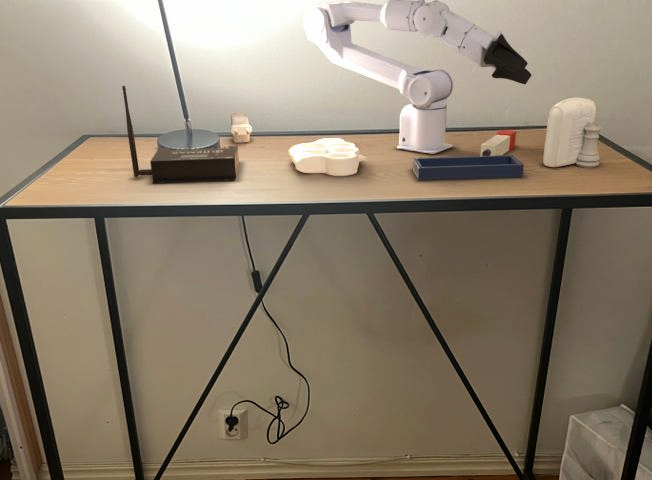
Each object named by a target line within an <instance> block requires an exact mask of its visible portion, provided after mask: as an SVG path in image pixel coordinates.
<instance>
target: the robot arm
mask: <svg viewBox="0 0 652 480" xmlns="http://www.w3.org/2000/svg"><path fill="white" fill-rule="evenodd" d="M355 22H373V23H374V22H375V23H382V24H383V25H384V27H385V28H386V29H387V30H388V31H389V30H390V31H400V32H410V33H417V32H418V35H420V36H425V37H426V36H432V37H433V38H434V39H436V40H438V41H440V42H441V43H442V44H444V45H445V46H447V47H448V48H450V49H452V50H454V51H456V53H458V54H461V55H462V56H463V57H465V58H467V59H469V60H470V61H472V62H474V63H476V64H477V66H478V67H480V68H489V67H490V68H492V69H493V70H494V71H493V72H492V74H491V77H492V78H493V79H503V80H510V81H512V82H516V83H518V84H521V85H527V83H528V81H529V80H530V79H531V77H532V73H531V72H530V71H529V70H528V69H527V68H526V67H527V66H528V64H529V63H528V61H527V60H526V59H525V58H524V57H523V56H522V55H521V54H519V53H518V51H516V50H515V49H514V48H513V47H512V45H510V43H509V42H508V41H507V39H506V37H505V36H504V34H503V33H502V31H500V30H497V32H496V33H495V34H492V33H490V32H488V31H487V30H485V29H483V28H481V27H480V26H478V25H476V24H475V23H473V22H472V21H470V20H468V19H466V18H465V17H463V16H461V15H460V14H456V13H455V12H454V11H451V9H450V8H449V6H448V5H447V4H446V3H445V2H443V1H440V0H432V1H429V2H426V0H388V1H387V2H386V3H385V4H376V3H369V2H368V3H367V2H361V1H352V0H351V1H340V2H333V3H327V4H320V5H319V4H314V5H311V6H309V7H308V8H307V9H306V10H305V11H304V15H303V27H304V30H305V33H306V36H307V39H308V40H309V41H310V42H312V43H314V44H316V45H317V46H318V47H319V49H320V50H321V51H322V52H323V54H324V55H325V56H326V57H327V58H328V60H330V62H331V63H333V64H335V65H337V66H340V67H342V68H345V69H347V70H349V71H353V72H355V73H358V74H359V75H363V76H365V77H368V78H370V79H372V80H374V81H377V82H380V83H382V84H385V85H387V86H390V87H392V88H395V89H397V90H399V92H400V93H399V94H400V95H401V96H402V97H405V98H407V99H408V100H409V101H410V102H411V103H408V104H406V105H405V106H404V107H403V108H402V110H401V112H400V115H399V135H398V136H399V137H398V138H399V139H398V145H397V146H396V148H397V149H399V150H404V151H411V152H418V153H425V154H430V155H434V154H439V153H440V152H442V151H446V150H448V149H451V148H453V144H448V143H446V129H447V111H448V98H449V97H450V96H451V95H452V92H453V90H454V80H453V77H452V75H451V74H450V72H448V71H447V70H445V69H440V68H439V69H429V68H427V67H426V68H425V67H418V66H412V65H409V64H406V63H404V62H403V61H402V62H401V61H399V60H396V59H394V58H391V57H390V56H386V55H383V54H381V53H378V52H375V51H372V50H371V49H368V48H366V47H363V46H360V45H357V44H354V43H353V41H352V31H351V30H352V29H351V25H352V24H354V23H355Z"/></svg>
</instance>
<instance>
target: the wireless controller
mask: <svg viewBox="0 0 652 480" xmlns="http://www.w3.org/2000/svg"><path fill="white" fill-rule="evenodd" d="M121 87H122V88H121V89H122V94H123V95H122V96H123V102H124V108H125V120H126V130H127V138H128V144H129V151H130V158H131V164H132V170H133V171H132V172H133V177H134V178H138V177H139V176H151V177H152V184H153V185H161V184H163V185H164V184H191V183H218V182H219V183H220V182H236V179H237V177H238V172H239V167H240V157H239V155H240V154H239V145H229V146H228V147H225V146H224V147H218V148H217V147H216V146H215V147H214V148H212V147H211V146H210V147H208V148H206V147H204V148H201V147H199V148H197V147H195V148H191V147H189V148H188V149H187V148H186V147H185V148H184V149H182V148H179V149H177V148H175V149H172V147H163V148H157V150H156V152H155V153H154V154H153V156H152V158H151V159H150V160H149V161H150V163H149V164H150V169H149V168H148V169H147V168H145V169H140V168H139V166H140V165H139V159H138V154H137V153H138V152H137V147H136V146H137V145H136V140H135V132H134V127H133V123H132V118H131V114H130V113H131V112H130V108H129V103H128V102H129V101H128V96H127V89H126V86H125V85H122V86H121Z"/></svg>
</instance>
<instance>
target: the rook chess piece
mask: <svg viewBox="0 0 652 480" xmlns="http://www.w3.org/2000/svg"><path fill="white" fill-rule="evenodd" d="M590 123H591V122H588V123H587V125H586V126H585V127H584V129H585V131H586V134H585V135H584V137H585V140H584V144H583V147H582V150H581V151H580V154H579V155H578V156H577V159H578V161H577V162H576V163H575V164H576V166H577V167H580V168H585V169H593V168H594V169H595V168H597V167H598V166H599V165H600V162H599V161H601V160H600V155H599V151H598V141H599V138H600V135H599V134H600V132H601V131H602V130H603V128H602V126H601V124H602V123H601V122H598V121H596V122H595V121H594V122H592V124H590Z"/></svg>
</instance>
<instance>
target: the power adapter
mask: <svg viewBox="0 0 652 480" xmlns="http://www.w3.org/2000/svg"><path fill="white" fill-rule="evenodd" d="M229 131H230V132H231V138H232V141H233V143H235V144H236V143H238V144H240V143H248V142H250V140H251V139H250V134H251V133H252V132H253V128H252V126H251V124H250V122H249V117H248V114H247V113H246V112H233V113H231V114H230V128H229Z"/></svg>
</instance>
